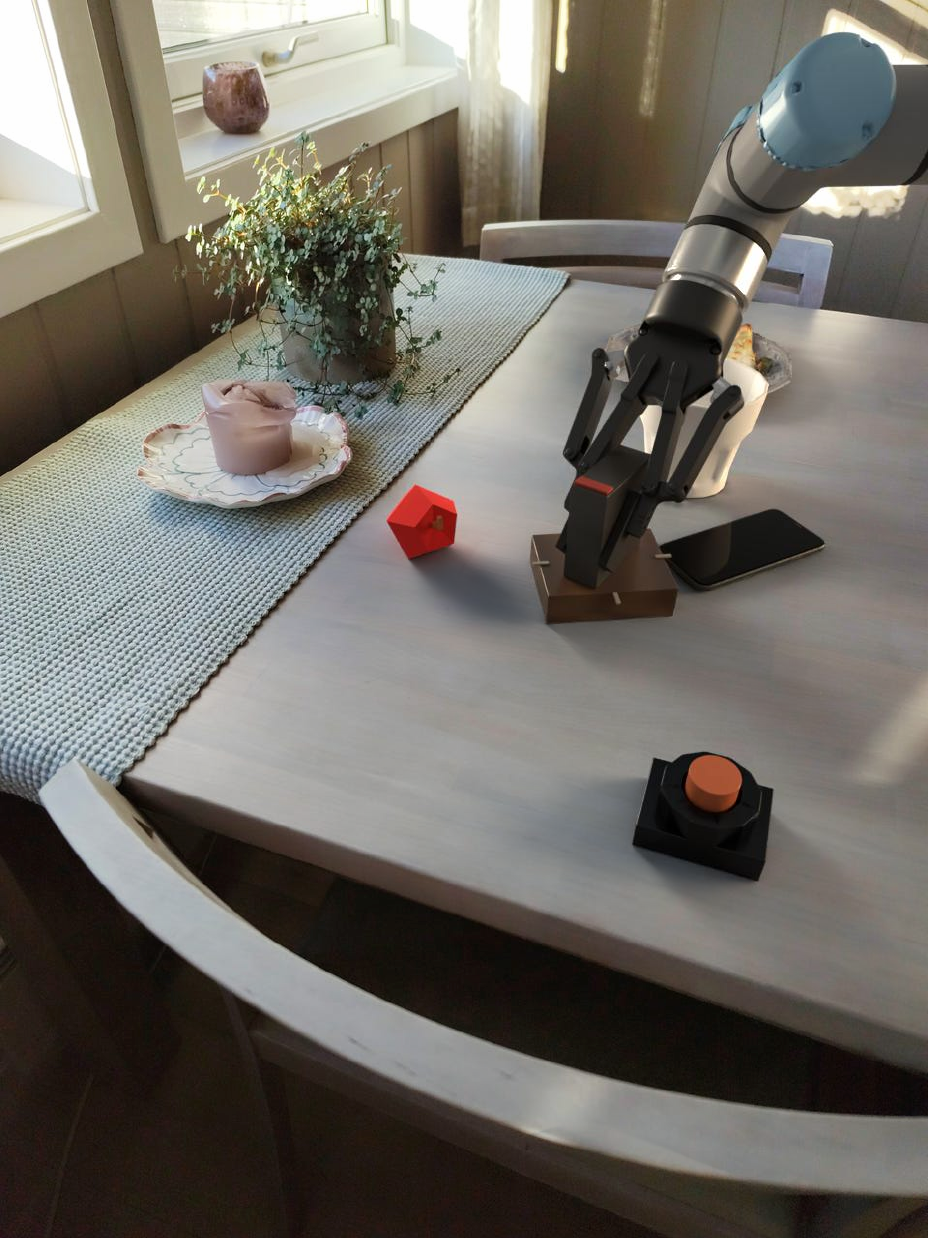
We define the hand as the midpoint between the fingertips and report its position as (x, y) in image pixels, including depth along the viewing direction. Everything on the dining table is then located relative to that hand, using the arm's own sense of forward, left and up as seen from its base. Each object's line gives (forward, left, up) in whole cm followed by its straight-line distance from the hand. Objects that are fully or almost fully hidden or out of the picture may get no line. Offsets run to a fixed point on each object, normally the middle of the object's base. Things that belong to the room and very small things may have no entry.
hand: (584, 559), depth 72 cm
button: (-21, +11, -2) cm, 24 cm away
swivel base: (+1, -3, -5) cm, 6 cm away
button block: (-21, +11, -5) cm, 24 cm away
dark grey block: (+1, -3, -2) cm, 4 cm away
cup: (+8, -24, -5) cm, 26 cm away
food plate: (+24, -46, -5) cm, 52 cm away
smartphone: (-4, -17, -5) cm, 19 cm away
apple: (+16, +5, -5) cm, 17 cm away
